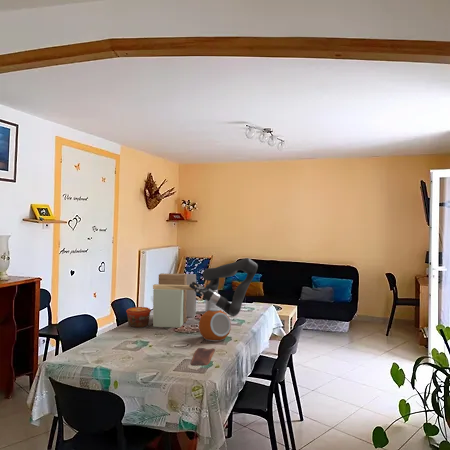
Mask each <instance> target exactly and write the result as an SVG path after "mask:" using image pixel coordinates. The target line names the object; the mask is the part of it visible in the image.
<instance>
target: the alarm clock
mask: <svg viewBox="0 0 450 450" xmlns="http://www.w3.org/2000/svg"><path fill="white" fill-rule="evenodd" d="M198 329H199V333H200V335H201V336H202V337H203V339H204V340H206V341H210V342H220V341H224V340H225V339H226V338H227V337H228V336H229V335H230V332H231V329H232V322H231V319H230V317H229V315H228V314H227V313H226V312H225V311H224V310H222V309H221V308H219V307H218V308H211V309H210V310H209V311H207V312H204V313H203V314H202V315H201V317H200V319H199V322H198Z"/></svg>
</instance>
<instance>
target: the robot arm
mask: <svg viewBox="0 0 450 450" xmlns="http://www.w3.org/2000/svg"><path fill="white" fill-rule="evenodd" d="M258 267H259V265H258V263H256V262H255V261H254V260H252V259H251V258H248V257H246V258H243V259H240V260H237V261H234V262H230V263H226V264H223V265H219V266H217V267H211V268H210V267H209V268H206V269H204V270H203V272H202V277H203V279H204V280H205V281H208V282H209V283H208V284H206V285H205V286H204V285H202V284H200V283H199V284H198V283H197V282H196V283H195V282H192V284H190V285H189V287H191V288H192V289H194V291H195V292H196V294H199V295H201V296H203V299H204V300H205V302H204V303H205V312H207V311H209V310H210V309H211V308H219V309H220V310H222V311H223V312H225V313H226V314H227V315H228V316H230V317H236V316H237V315H238V314H239V313H240V312H241V309H242V304H243V301H244V298H245V296H246V293H247V290H248V288H249V286H250V285H251V283H252V281H253V280H254V277H255V276H256V273H257V271H258ZM238 271H243V272H244V273H246V277H245V279H244V280H243V281H242V282H240V284H238V285H237V287H236V288H235V291H234V293H233V296H232V301H231V303H230V302H229V300H228V299H227V298H226V297H224V296H222V295H220V294H219V286H220V279H223V278H230V277H234V276H235V275H236V274H237V273H238ZM194 285H196V286H194ZM205 312H204V313H205Z"/></svg>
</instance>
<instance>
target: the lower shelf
mask: <svg viewBox="0 0 450 450" xmlns="http://www.w3.org/2000/svg"><path fill="white" fill-rule="evenodd" d="M152 291H153V295H152V296H153V300H152V302H153V304H152V314H153V315H152V316H153V317H152V319H153V320H152V324H153V325H152V327H161V328H181V327H182V326H183V325H184V323H183V290H172V289H153V290H152Z"/></svg>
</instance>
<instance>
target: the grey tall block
mask: <svg viewBox="0 0 450 450" xmlns="http://www.w3.org/2000/svg"><path fill="white" fill-rule="evenodd" d="M186 274H187V285H190V284H192V282H195V283H197V274H196V273H195V274H193V273H186ZM196 302H197V292H195V291H194V290H187V299H186V318H195V316H197V315H196V314H197V311H196V310H197V304H196Z"/></svg>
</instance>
